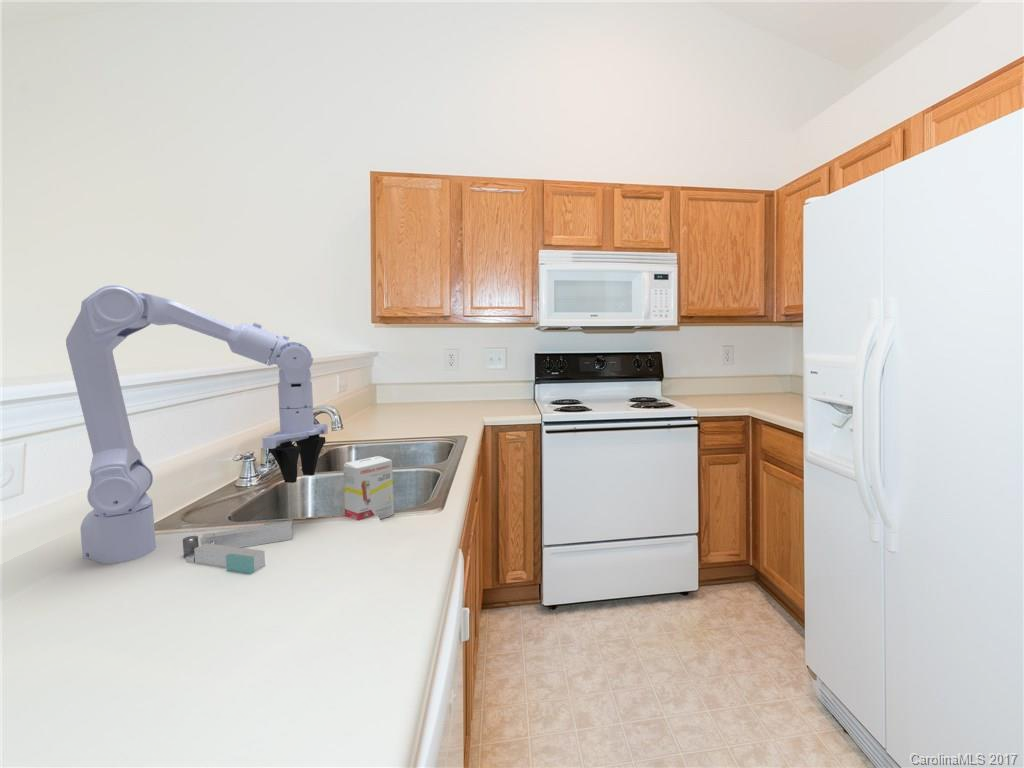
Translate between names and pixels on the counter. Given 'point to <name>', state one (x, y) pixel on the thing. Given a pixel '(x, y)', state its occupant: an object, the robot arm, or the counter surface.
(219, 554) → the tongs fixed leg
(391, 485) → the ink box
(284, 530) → the bar
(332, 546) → the counter surface
